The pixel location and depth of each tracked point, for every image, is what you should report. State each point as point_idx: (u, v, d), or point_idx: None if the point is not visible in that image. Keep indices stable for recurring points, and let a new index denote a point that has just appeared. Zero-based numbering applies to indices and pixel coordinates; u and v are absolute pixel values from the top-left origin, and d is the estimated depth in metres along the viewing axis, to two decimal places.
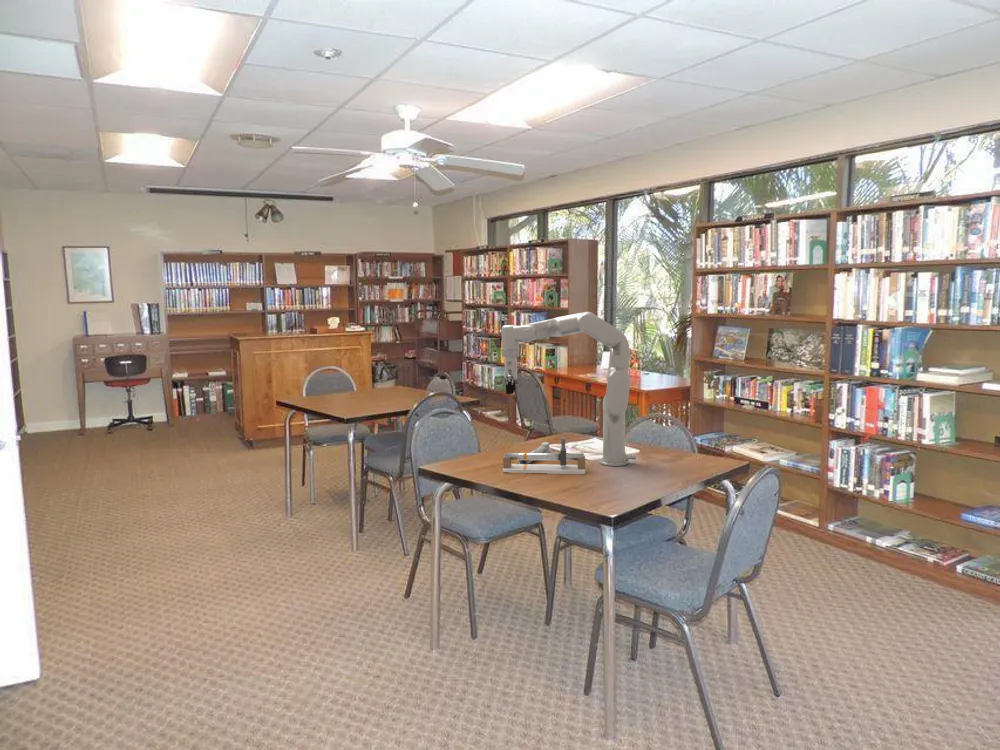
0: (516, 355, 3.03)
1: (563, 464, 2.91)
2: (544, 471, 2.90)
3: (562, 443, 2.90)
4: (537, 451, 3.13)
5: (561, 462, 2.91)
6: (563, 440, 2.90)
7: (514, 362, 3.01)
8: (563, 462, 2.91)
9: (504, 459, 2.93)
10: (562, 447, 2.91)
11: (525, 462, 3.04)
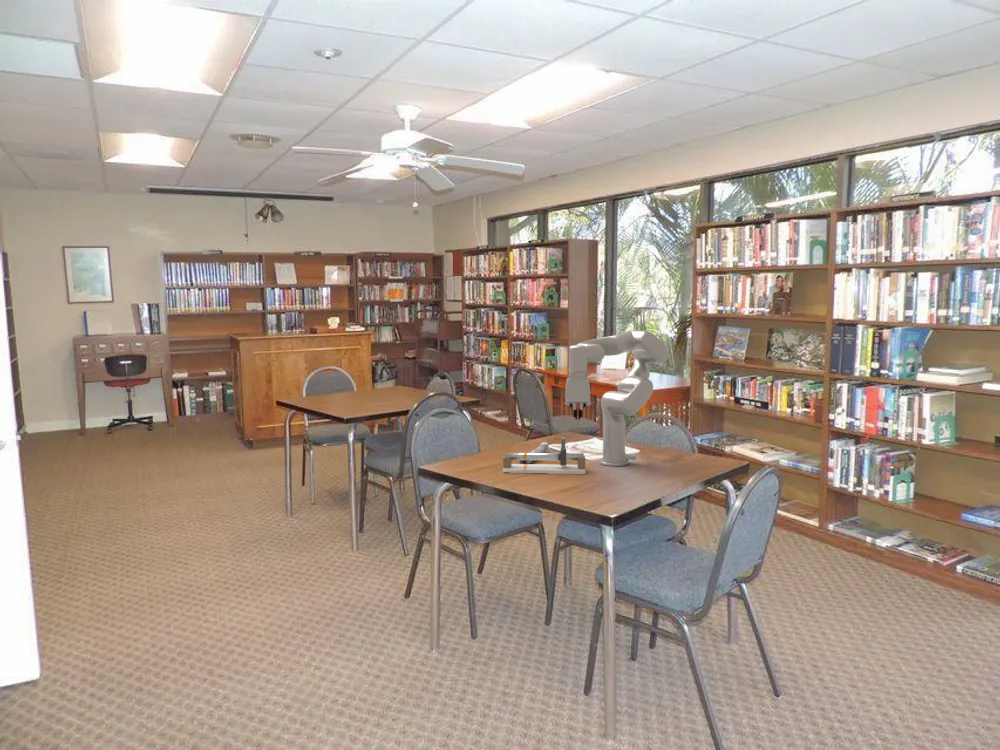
0: None
1: (563, 464, 2.91)
2: (544, 471, 2.90)
3: (562, 443, 2.90)
4: (537, 451, 3.13)
5: (561, 462, 2.91)
6: (563, 440, 2.90)
7: None
8: (563, 462, 2.91)
9: (504, 459, 2.93)
10: (562, 447, 2.91)
11: (525, 462, 3.04)
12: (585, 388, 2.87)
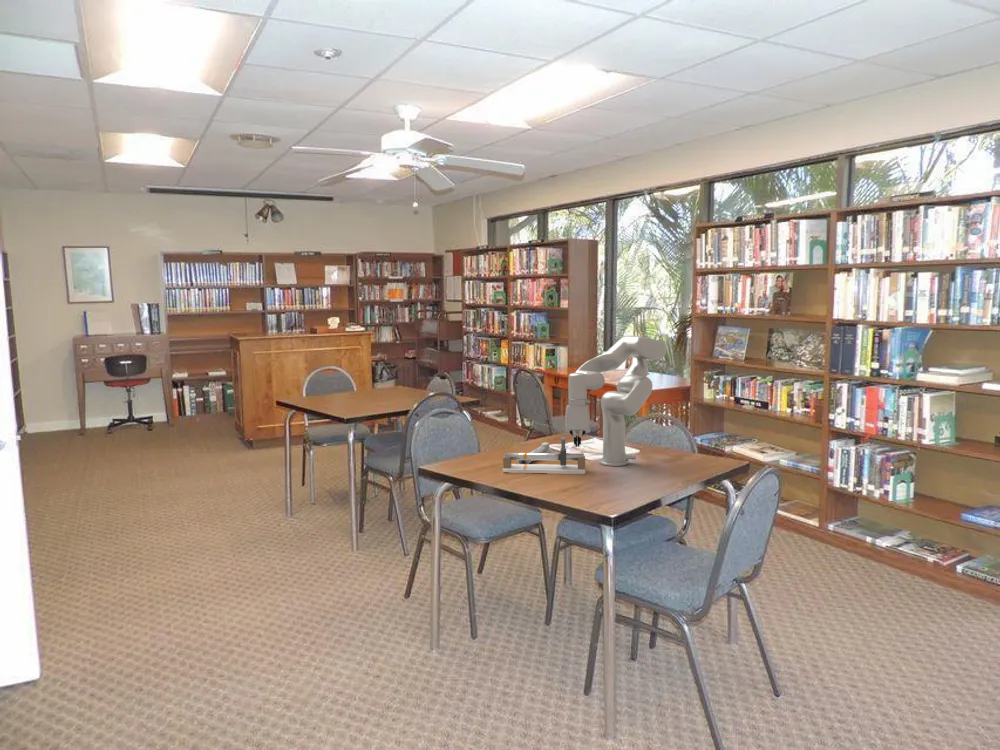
0: None
1: (563, 464, 2.91)
2: (544, 471, 2.90)
3: (562, 443, 2.90)
4: (537, 451, 3.13)
5: (561, 462, 2.91)
6: (563, 440, 2.90)
7: None
8: (563, 462, 2.91)
9: (504, 459, 2.93)
10: (562, 447, 2.91)
11: (525, 462, 3.04)
12: (585, 416, 2.88)
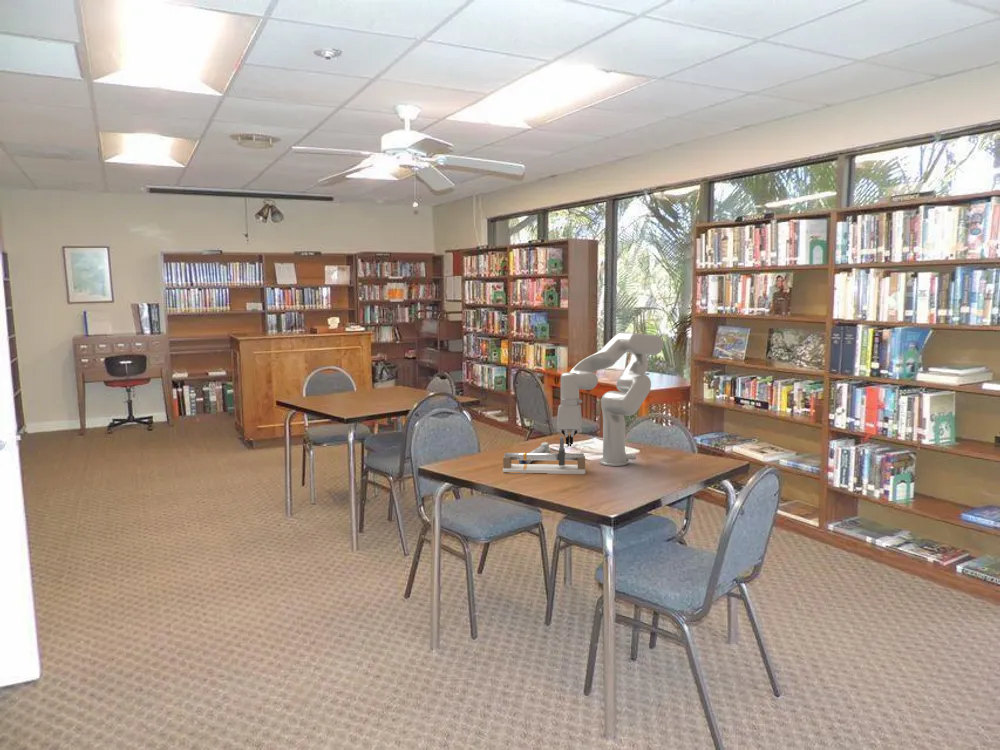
0: None
1: (562, 464, 2.91)
2: (544, 471, 2.90)
3: (561, 443, 2.90)
4: (537, 451, 3.13)
5: (560, 462, 2.91)
6: (562, 440, 2.90)
7: None
8: (562, 462, 2.91)
9: (504, 459, 2.93)
10: (561, 447, 2.91)
11: (525, 462, 3.03)
12: (577, 415, 2.89)
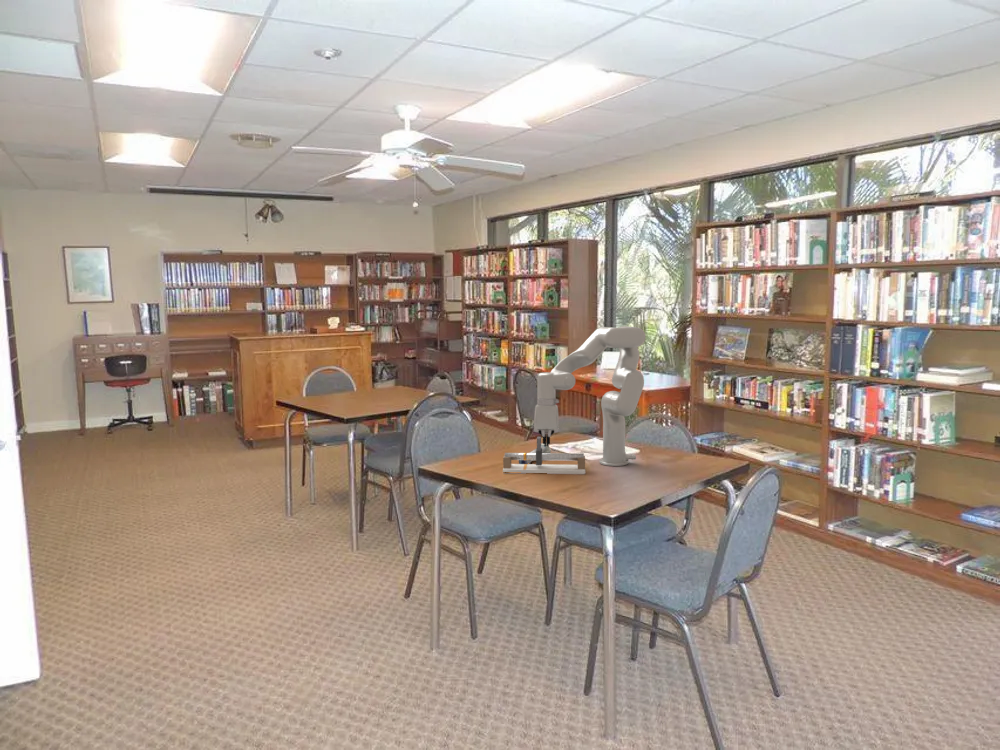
0: None
1: (538, 464, 2.92)
2: (544, 471, 2.90)
3: (537, 443, 2.91)
4: None
5: (536, 462, 2.92)
6: (538, 440, 2.91)
7: None
8: (538, 462, 2.92)
9: (504, 459, 2.93)
10: (537, 447, 2.91)
11: (524, 462, 3.03)
12: (553, 415, 2.90)
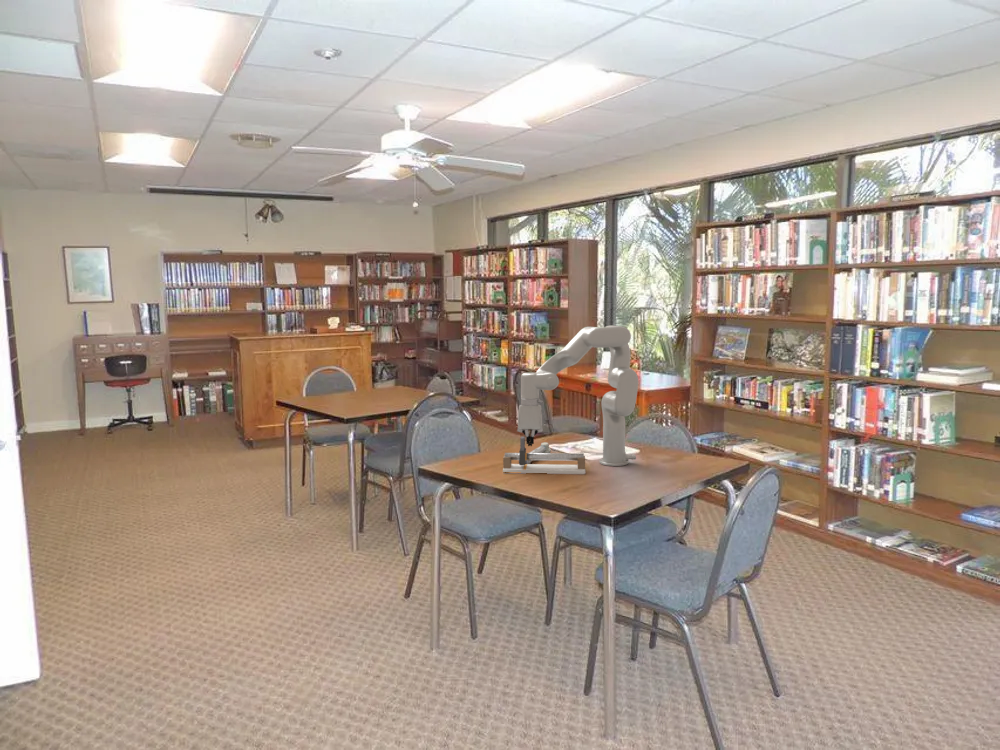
0: None
1: (522, 464, 2.92)
2: (544, 471, 2.90)
3: (521, 443, 2.92)
4: (536, 451, 3.13)
5: (520, 462, 2.92)
6: (522, 440, 2.92)
7: None
8: (522, 462, 2.92)
9: (504, 459, 2.93)
10: (521, 447, 2.92)
11: None
12: (537, 415, 2.90)
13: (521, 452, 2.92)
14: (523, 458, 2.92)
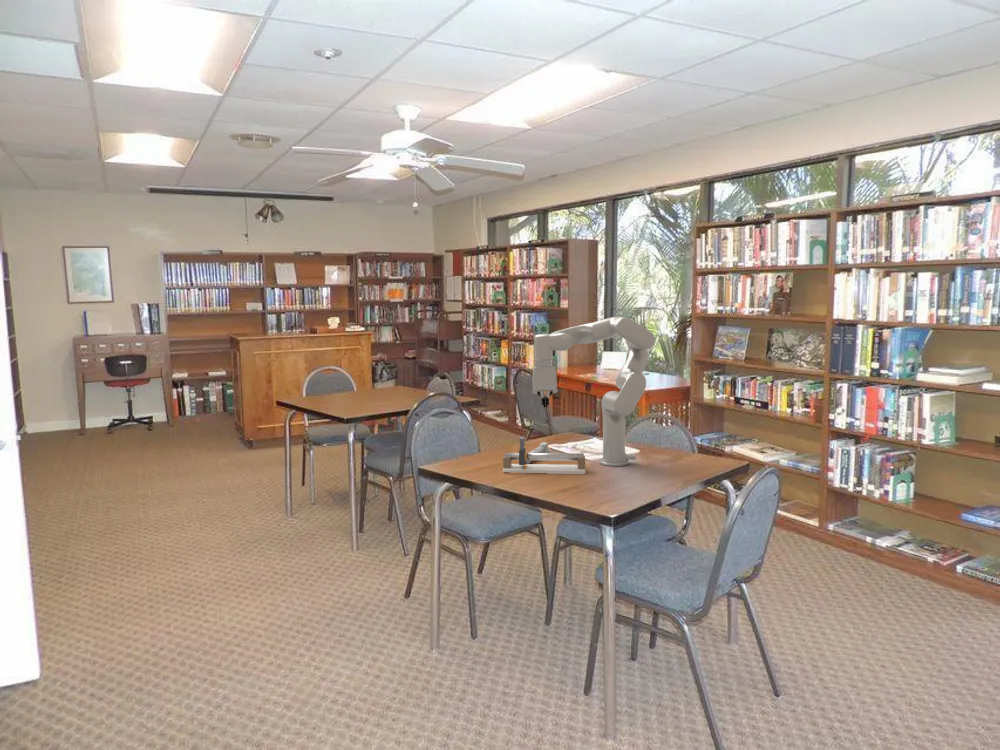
0: None
1: (522, 464, 2.92)
2: (544, 471, 2.90)
3: (521, 443, 2.92)
4: (536, 451, 3.13)
5: (520, 462, 2.92)
6: (521, 440, 2.92)
7: None
8: (522, 462, 2.92)
9: (504, 459, 2.93)
10: (521, 447, 2.92)
11: (525, 462, 3.03)
12: (551, 376, 2.92)
13: (521, 452, 2.92)
14: (523, 458, 2.92)
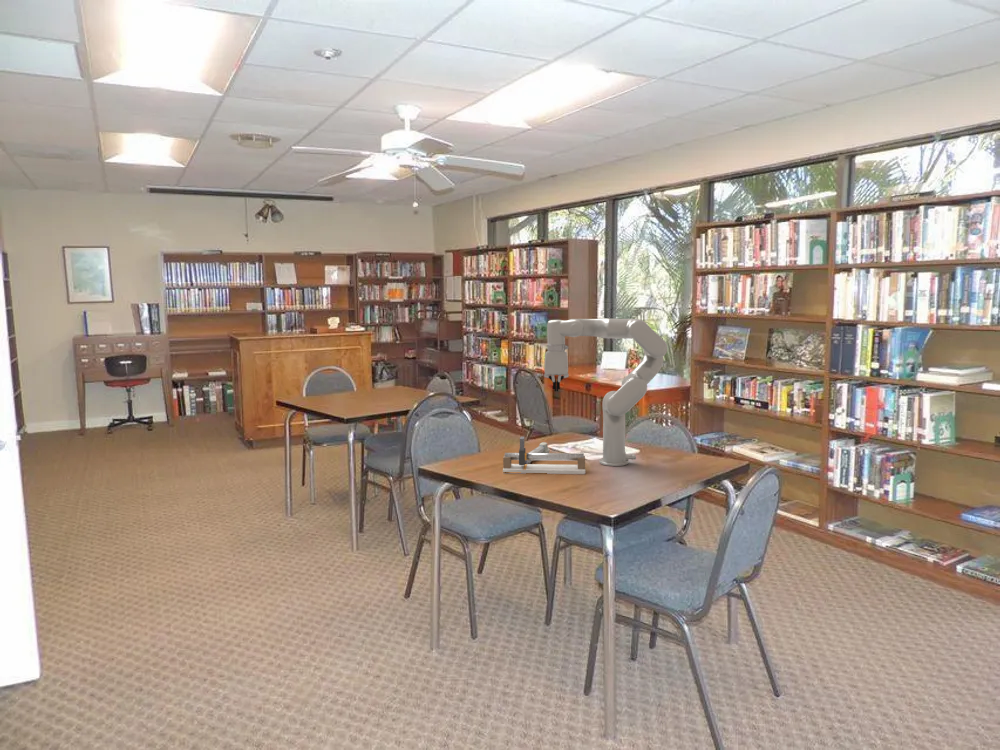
0: None
1: (522, 464, 2.92)
2: (544, 471, 2.90)
3: (521, 443, 2.92)
4: (536, 451, 3.13)
5: (520, 462, 2.92)
6: (521, 440, 2.92)
7: None
8: (522, 462, 2.92)
9: (504, 459, 2.93)
10: (521, 447, 2.92)
11: None
12: (563, 361, 3.00)
13: (521, 452, 2.92)
14: (523, 458, 2.92)
